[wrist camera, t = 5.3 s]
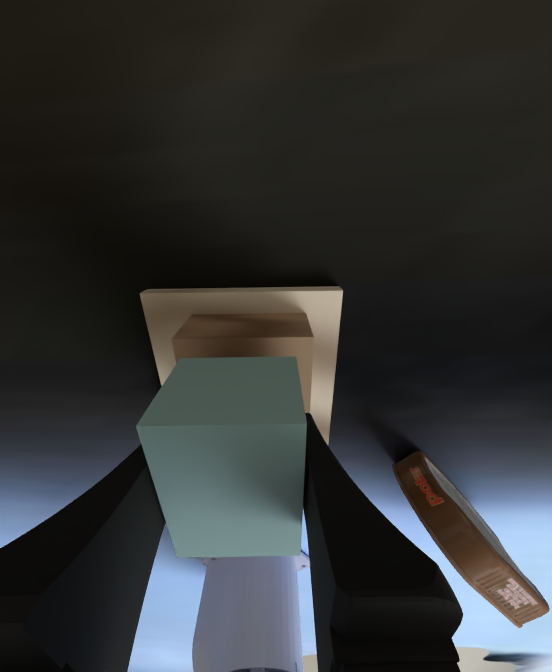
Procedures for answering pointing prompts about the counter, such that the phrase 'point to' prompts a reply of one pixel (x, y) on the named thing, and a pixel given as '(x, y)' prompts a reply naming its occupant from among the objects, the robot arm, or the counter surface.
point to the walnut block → (250, 340)
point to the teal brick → (229, 456)
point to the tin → (467, 540)
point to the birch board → (317, 302)
